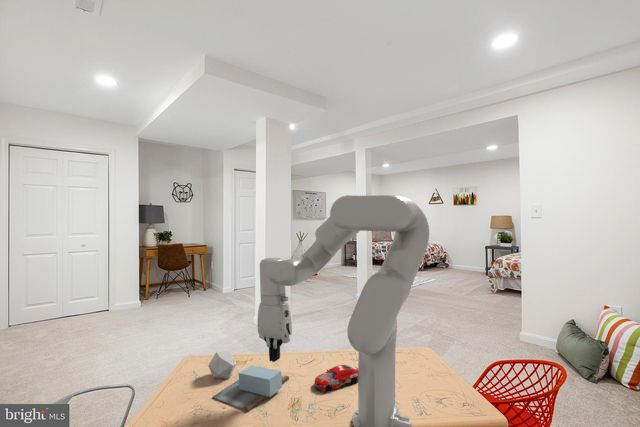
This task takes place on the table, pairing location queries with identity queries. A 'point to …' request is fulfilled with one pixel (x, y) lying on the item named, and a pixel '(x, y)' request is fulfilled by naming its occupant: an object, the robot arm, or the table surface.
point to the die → (222, 365)
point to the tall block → (260, 380)
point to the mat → (241, 396)
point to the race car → (337, 377)
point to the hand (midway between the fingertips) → (274, 359)
